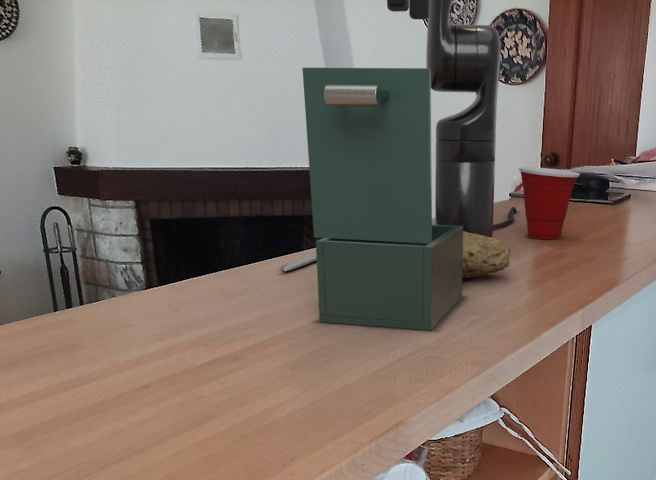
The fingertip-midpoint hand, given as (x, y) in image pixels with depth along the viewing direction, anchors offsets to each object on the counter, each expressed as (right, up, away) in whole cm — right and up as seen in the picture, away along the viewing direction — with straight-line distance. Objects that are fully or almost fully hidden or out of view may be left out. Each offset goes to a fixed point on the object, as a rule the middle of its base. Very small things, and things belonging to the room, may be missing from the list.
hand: (409, 15), depth 86 cm
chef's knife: (-17, -22, +31) cm, 42 cm away
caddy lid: (-3, -18, -8) cm, 20 cm away
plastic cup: (+22, -13, +56) cm, 61 cm away
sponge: (+2, -26, +22) cm, 34 cm away
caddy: (-2, -32, +5) cm, 32 cm away
